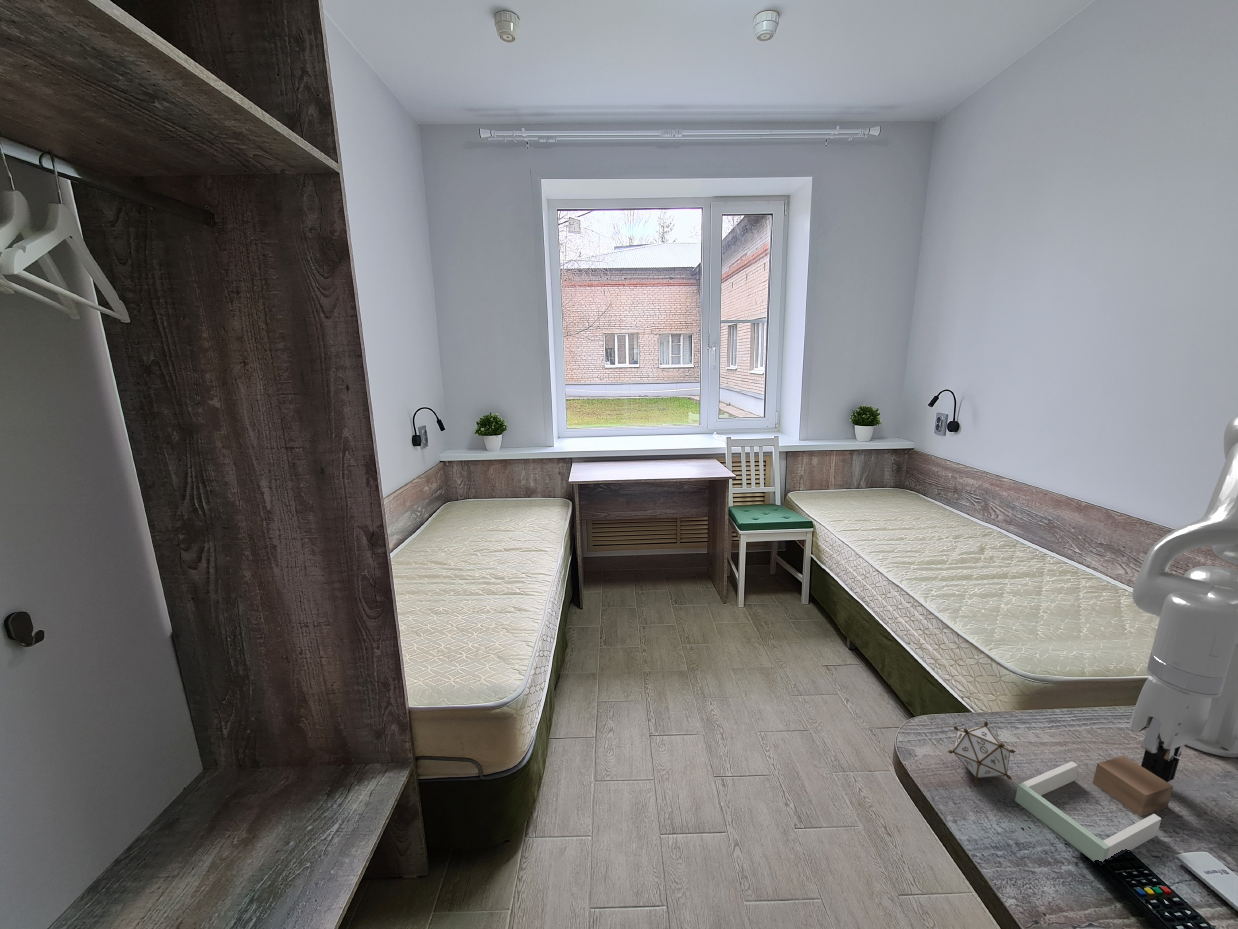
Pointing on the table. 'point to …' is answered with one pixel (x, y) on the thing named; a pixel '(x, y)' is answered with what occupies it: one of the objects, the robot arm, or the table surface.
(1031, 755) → the table surface
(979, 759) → the game die
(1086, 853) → the walled bay
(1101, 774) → the walnut block
